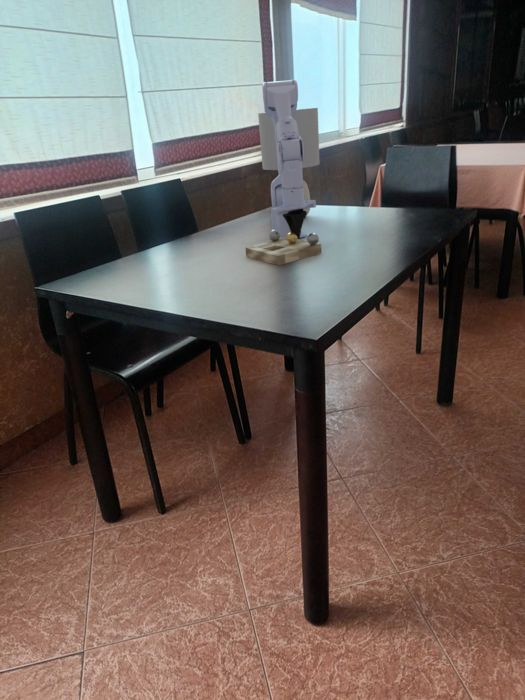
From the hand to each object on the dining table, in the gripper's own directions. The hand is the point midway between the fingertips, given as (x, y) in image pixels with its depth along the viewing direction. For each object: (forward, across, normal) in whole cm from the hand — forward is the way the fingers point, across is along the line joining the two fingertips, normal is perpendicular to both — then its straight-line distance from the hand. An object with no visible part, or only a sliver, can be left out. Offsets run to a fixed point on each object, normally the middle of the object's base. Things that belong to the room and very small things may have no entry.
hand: (295, 238), depth 138 cm
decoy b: (0, +1, -6) cm, 6 cm away
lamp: (+3, +31, +38) cm, 49 cm away
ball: (0, -1, 0) cm, 1 cm away
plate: (+4, -5, 0) cm, 6 cm away
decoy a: (0, -2, +7) cm, 7 cm away
